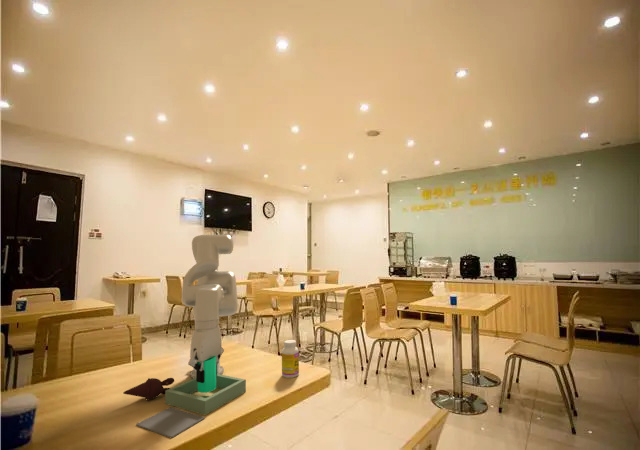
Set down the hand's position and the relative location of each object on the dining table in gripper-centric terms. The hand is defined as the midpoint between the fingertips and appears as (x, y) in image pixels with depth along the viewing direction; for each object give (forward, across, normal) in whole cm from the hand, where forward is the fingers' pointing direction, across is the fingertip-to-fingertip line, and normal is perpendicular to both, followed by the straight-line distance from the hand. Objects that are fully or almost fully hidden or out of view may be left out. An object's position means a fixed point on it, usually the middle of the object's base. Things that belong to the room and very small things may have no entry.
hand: (206, 378), depth 109 cm
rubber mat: (+5, +17, +4) cm, 18 cm away
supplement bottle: (+6, -27, +16) cm, 32 cm away
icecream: (+6, +10, -16) cm, 20 cm away
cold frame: (+6, +1, +1) cm, 6 cm away
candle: (+4, 0, 0) cm, 4 cm away
